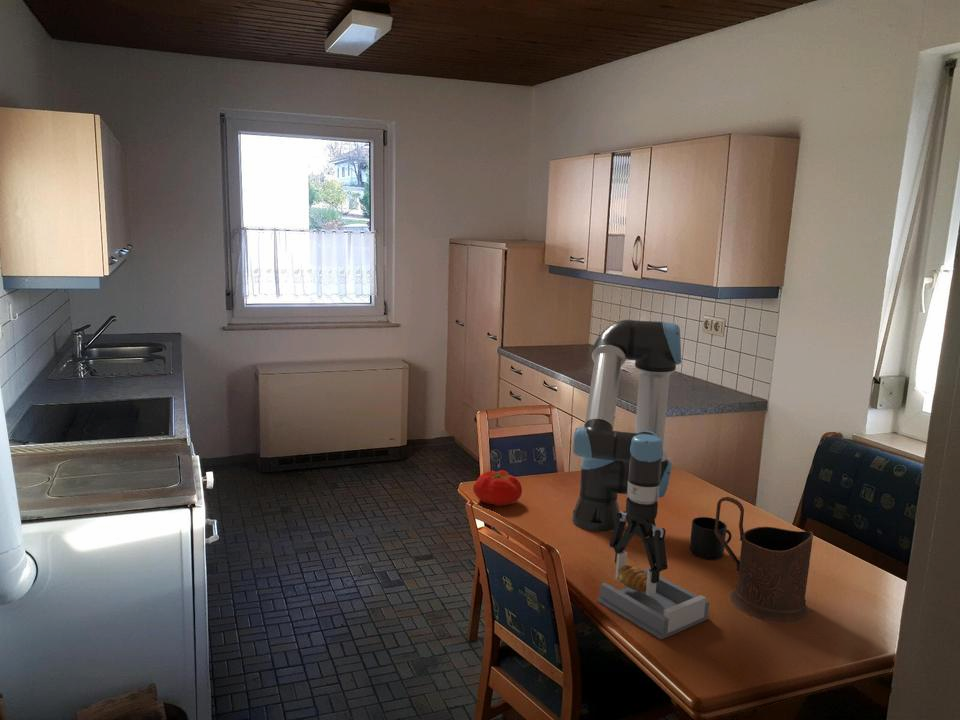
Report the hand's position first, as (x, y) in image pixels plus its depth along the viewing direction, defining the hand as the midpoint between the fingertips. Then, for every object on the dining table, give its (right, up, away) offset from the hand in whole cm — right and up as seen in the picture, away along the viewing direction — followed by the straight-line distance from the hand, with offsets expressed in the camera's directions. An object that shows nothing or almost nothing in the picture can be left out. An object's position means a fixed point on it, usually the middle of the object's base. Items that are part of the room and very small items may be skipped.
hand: (635, 585), depth 182 cm
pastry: (0, 0, +1) cm, 1 cm away
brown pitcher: (+31, -5, +3) cm, 32 cm away
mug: (+28, 0, +29) cm, 41 cm away
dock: (+3, -5, -4) cm, 7 cm away
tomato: (-33, +8, +61) cm, 70 cm away
